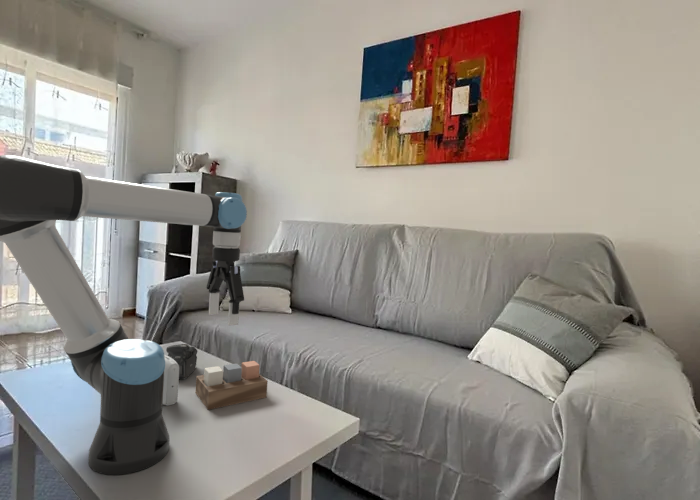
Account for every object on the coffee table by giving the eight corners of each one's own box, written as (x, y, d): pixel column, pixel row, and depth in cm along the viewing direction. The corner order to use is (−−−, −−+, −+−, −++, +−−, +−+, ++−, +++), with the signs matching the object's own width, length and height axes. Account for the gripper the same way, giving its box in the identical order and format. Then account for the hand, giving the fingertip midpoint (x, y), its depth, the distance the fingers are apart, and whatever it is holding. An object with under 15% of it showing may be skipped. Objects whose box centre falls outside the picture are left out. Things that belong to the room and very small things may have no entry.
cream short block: (222, 387, 113) (223, 370, 113) (207, 390, 110) (208, 373, 110) (217, 382, 116) (218, 366, 116) (203, 385, 114) (204, 368, 113)
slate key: (240, 384, 116) (241, 367, 116) (227, 386, 114) (228, 369, 113) (235, 379, 119) (236, 363, 119) (222, 381, 117) (223, 365, 117)
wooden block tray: (266, 397, 117) (267, 380, 117) (207, 409, 107) (208, 391, 107) (250, 382, 127) (251, 367, 126) (195, 392, 116) (196, 376, 116)
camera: (164, 367, 134) (166, 338, 133) (196, 365, 138) (197, 336, 138) (164, 382, 122) (165, 351, 121) (198, 379, 126) (200, 349, 125)
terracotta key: (258, 381, 119) (259, 364, 119) (245, 383, 117) (246, 366, 117) (253, 376, 123) (254, 360, 122) (240, 378, 120) (241, 362, 120)
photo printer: (180, 402, 110) (182, 358, 109) (165, 407, 107) (167, 362, 106) (159, 391, 116) (161, 349, 115) (144, 396, 112) (146, 353, 111)
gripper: (259, 251, 107) (255, 328, 109) (221, 243, 126) (217, 309, 127) (233, 251, 102) (229, 331, 104) (197, 242, 121) (194, 311, 122)
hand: (222, 319), depth 116 cm, fingers open, 13 cm apart
